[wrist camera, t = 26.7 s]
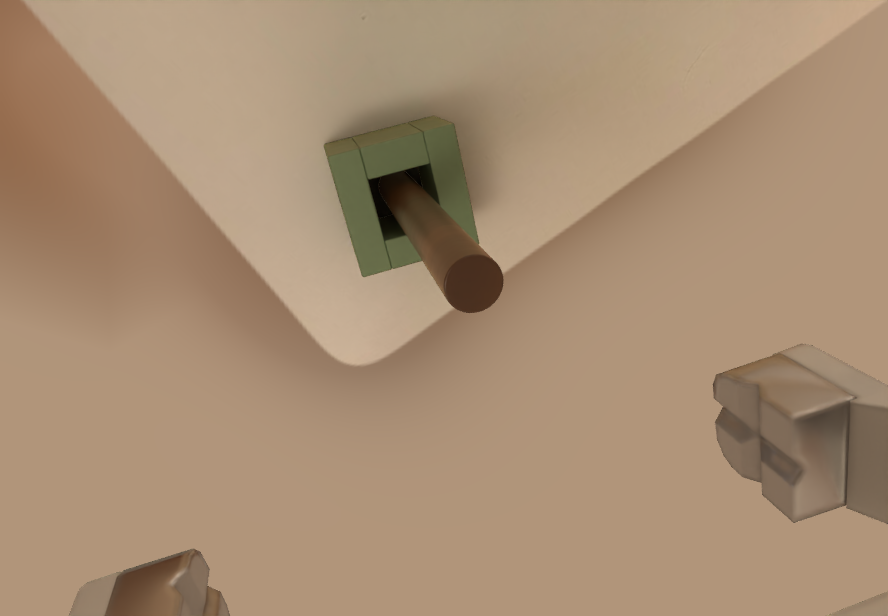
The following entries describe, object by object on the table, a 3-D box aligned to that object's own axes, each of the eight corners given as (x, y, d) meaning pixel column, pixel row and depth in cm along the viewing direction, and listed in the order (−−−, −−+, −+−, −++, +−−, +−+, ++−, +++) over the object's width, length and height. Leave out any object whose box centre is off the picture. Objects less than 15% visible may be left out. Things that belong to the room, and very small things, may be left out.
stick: (381, 206, 38) (448, 319, 21) (375, 172, 37) (439, 262, 20) (415, 199, 38) (507, 306, 21) (409, 165, 37) (499, 248, 21)
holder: (354, 252, 38) (362, 278, 34) (323, 144, 36) (327, 156, 31) (458, 223, 39) (479, 244, 34) (434, 115, 36) (453, 123, 32)
